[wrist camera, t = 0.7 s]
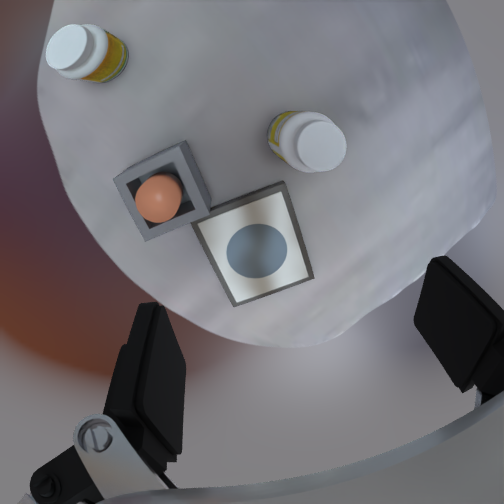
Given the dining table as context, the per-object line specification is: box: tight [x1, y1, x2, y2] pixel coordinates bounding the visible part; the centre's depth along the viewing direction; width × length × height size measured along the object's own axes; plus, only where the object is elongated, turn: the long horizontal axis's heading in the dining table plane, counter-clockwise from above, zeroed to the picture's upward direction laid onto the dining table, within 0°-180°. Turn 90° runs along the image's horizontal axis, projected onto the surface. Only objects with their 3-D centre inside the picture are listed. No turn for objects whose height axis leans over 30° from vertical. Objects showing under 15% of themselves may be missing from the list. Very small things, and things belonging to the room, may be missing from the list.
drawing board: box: [191, 181, 314, 307], centre depth 34 cm, size 11×13×1 cm
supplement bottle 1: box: [46, 24, 128, 83], centre depth 18 cm, size 5×5×10 cm
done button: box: [135, 172, 183, 223], centre depth 25 cm, size 4×4×3 cm
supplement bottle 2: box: [267, 111, 346, 173], centre depth 24 cm, size 5×5×10 cm
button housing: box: [113, 141, 211, 242], centre depth 27 cm, size 7×7×5 cm
